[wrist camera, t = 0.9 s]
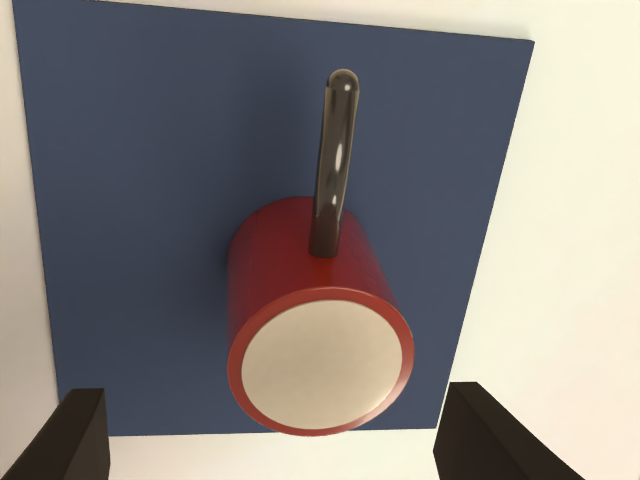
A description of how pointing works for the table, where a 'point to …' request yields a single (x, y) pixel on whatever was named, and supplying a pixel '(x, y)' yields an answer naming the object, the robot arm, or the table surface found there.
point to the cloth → (244, 185)
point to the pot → (314, 301)
